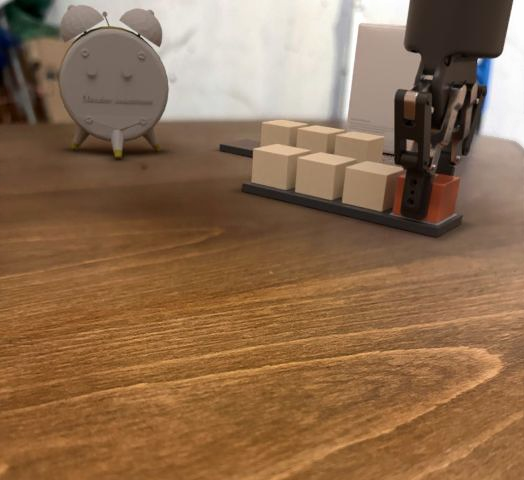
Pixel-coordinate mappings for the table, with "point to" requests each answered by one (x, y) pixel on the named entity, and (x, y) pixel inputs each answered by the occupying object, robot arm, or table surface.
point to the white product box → (379, 79)
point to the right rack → (335, 186)
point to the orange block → (434, 197)
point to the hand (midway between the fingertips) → (424, 211)
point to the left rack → (312, 141)
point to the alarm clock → (113, 77)
